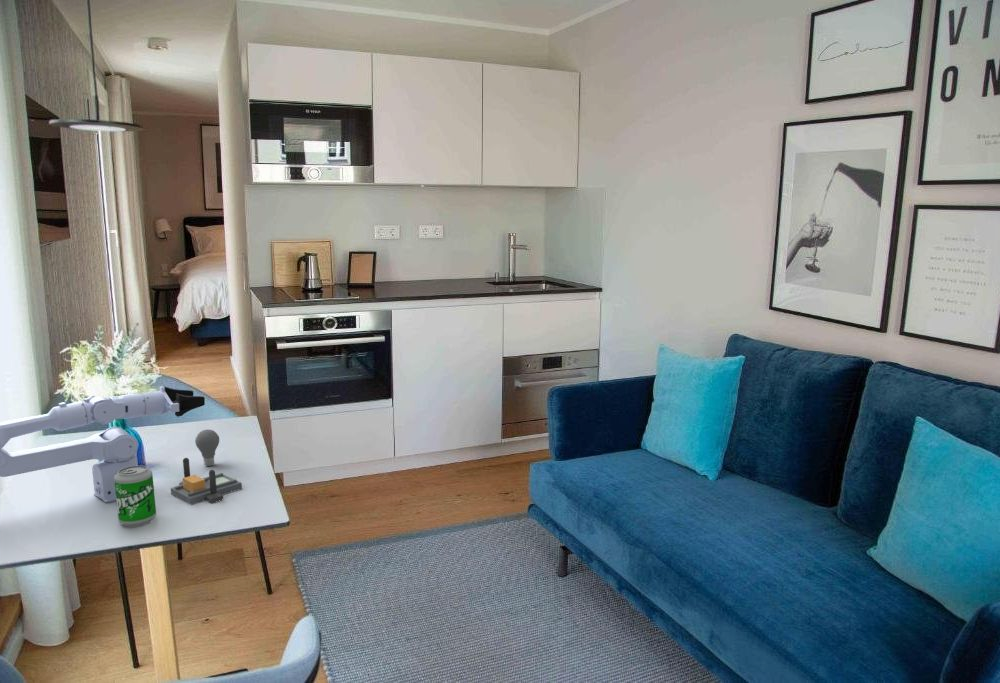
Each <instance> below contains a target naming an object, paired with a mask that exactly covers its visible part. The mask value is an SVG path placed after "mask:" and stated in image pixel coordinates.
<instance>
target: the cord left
mask: <svg viewBox="0 0 1000 683" xmlns="http://www.w3.org/2000/svg"><path fill="white" fill-rule="evenodd" d="M182 464H183V466H182V468H183V478H185V477H188V476H191V469H190V459H189V458H188V457H184V458H183V459H182Z"/></svg>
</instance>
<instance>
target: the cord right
mask: <svg viewBox="0 0 1000 683" xmlns="http://www.w3.org/2000/svg"><path fill="white" fill-rule="evenodd" d="M215 475H216V471H215V470H214V469H210V470H209V472H208V477H209V481H210V493H211V494H215V493H217V488H216V476H215Z"/></svg>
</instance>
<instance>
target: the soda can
mask: <svg viewBox="0 0 1000 683" xmlns="http://www.w3.org/2000/svg"><path fill="white" fill-rule="evenodd" d="M114 481H115V491H116V500H115V501H116V507H117V508H116V509H117V519H118V522H119V523H120V524H121V525H123V526H124V527H126V528H137V527H142V526H146V525H149V524H150V523H151V522H153V519H154V518H155V517H156V515H157V507H156V498H155V489H154V488H155V487H154V476H153V471H152V469H150V468H148V466H146V465H138V466H130V467H126V468H123V469H121V470H119V471H118V473H117V474H116V475H115V476H114Z"/></svg>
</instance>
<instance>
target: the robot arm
mask: <svg viewBox="0 0 1000 683" xmlns="http://www.w3.org/2000/svg"><path fill="white" fill-rule="evenodd" d="M158 389H159V390H157V391H155V390H154V391H148V392H139V393H131V394H121V395H118V396H117V395H114V396H108V398H107V397H105V396H104V395H103V396H102V395H92V396H89V397H86V398H83V400H81V401H76V402H72V403H66V402H64V401H63V402H59V403H58V406H53V407H52V408H51V409H50V410H49V411H48V413H46V414H39V415H32V416H29V417H28V416H27V417H21V418H15V419H9V420H5V421H4V420H3V421H0V477H1V478H6V477H12V476H16V475H22V474H25V473H27V474H28V473H31V472H37V471H41V470H46V469H50V468H56V467H59V466H60V467H62V466H65V465H71V464H76V463H80V462H85V461H90V460H101V461H99V462H97V463H94V464H93V465H92V480H93V488H94V489H93V490H94V491H93V495H94V496H96V497H97V498H99V499H100V500H102V501H103V502H105V503H110V502H113V501H117V500H116V491H115V481H114V476H115V475H116V474H117V473H118V471H119V470H121V469H123V468H126V467H130V466H138V464H139V463H138V455H137V452H138V449H139V443H138V439H137V438H136V437H134V436H133V435H131V434H129V433H128V432H127V431H126V430H125V429H123V428H122V427H119V426H111V427H108V428H106V429H104V430H103V431H102V432H98V433H95V434H92V435H91V436H88V437H87V438H81V439H75V440H71V441H67V442H66V441H65V442H60V443H54V444H49V445H44V446H37V447H33V448H28V449H21V450H16V451H12V452H9V451H7V450H6V449H4V447H5V446H6V445H7V444H8V442H10V440H11V439H14V438H17V437H21V436H24V435H29V434H33V433H36V432H40V431H44V430H48V429H53V430H55V431H57V432H62V431H67V430H70V429H71V430H72V429H75V428H80V427H85V426H90V425H91V424H93V423H97V424H98V423H99V424H104V425H108V424H111V423H112V422H114V421H115V420H120V419H121V420H122V419H123V420H124V419H125V420H126V419H132V418H133V419H134V418H139V417H147V416H155V415H166V414H168V413H174V415H175V416H176V417H182V416H183V415H185V414H186V413H188V412H190V411H191V410H194V409H198V408H201V407H202V406H205V404H206V403H205V401H206V398H205V397H204V396H202V395H201V396H200V395H194V391H193V390H189V389H177V388H172V387H167V386H165V385H160V386H159V387H158Z"/></svg>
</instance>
